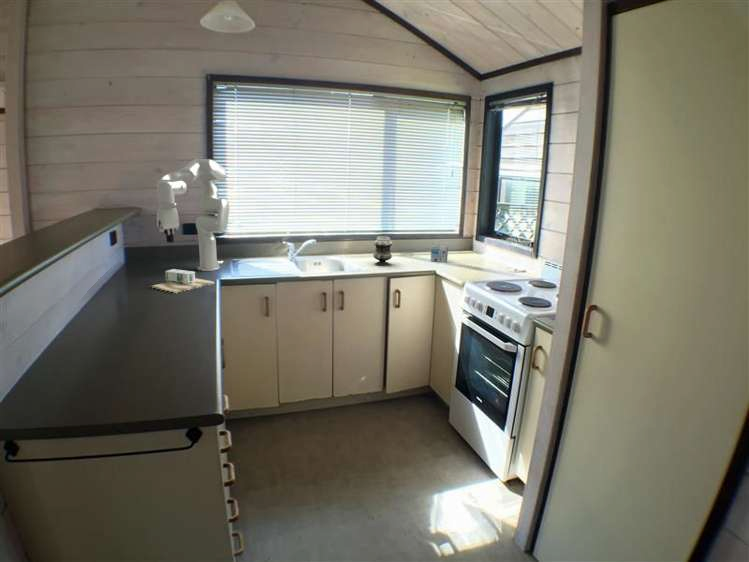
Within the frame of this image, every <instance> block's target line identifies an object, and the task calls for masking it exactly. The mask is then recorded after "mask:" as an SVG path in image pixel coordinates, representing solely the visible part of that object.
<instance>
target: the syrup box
mask: <svg viewBox="0 0 749 562" xmlns="http://www.w3.org/2000/svg"><path fill="white" fill-rule="evenodd" d="M164 272H165V283H166V282H173V283H180V284H192V283H195V278H196V272H195V271H191V270H183V269H175V268H172V269H168V270H165V271H164Z"/></svg>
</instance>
